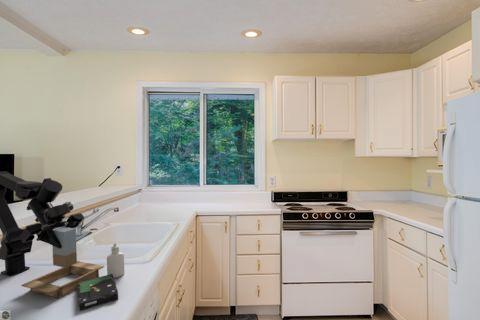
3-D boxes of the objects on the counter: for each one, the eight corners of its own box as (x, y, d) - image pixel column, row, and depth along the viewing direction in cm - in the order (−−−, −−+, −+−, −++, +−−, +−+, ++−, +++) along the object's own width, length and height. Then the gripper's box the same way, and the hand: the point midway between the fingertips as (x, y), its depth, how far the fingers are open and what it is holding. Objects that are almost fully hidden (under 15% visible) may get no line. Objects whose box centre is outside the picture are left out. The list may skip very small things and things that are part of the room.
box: (53, 265, 88) (51, 230, 87) (64, 260, 92) (63, 226, 91) (65, 267, 86) (64, 232, 85) (76, 262, 89) (75, 228, 89)
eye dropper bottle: (111, 273, 96) (109, 241, 96) (126, 272, 96) (125, 240, 96) (105, 278, 92) (104, 245, 91) (121, 278, 92) (120, 245, 91)
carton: (21, 294, 82) (21, 285, 82) (77, 268, 100) (77, 260, 100) (51, 302, 77) (50, 292, 77) (104, 274, 95) (104, 266, 95)
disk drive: (119, 301, 79) (112, 280, 91) (119, 292, 79) (112, 273, 91) (79, 313, 73) (77, 289, 85) (79, 304, 73) (77, 281, 85)
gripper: (24, 200, 80) (49, 239, 77) (80, 191, 98) (102, 223, 94) (9, 223, 84) (33, 262, 80) (66, 210, 101) (87, 241, 97)
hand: (67, 245), depth 88 cm, fingers closed on box, 4 cm apart
